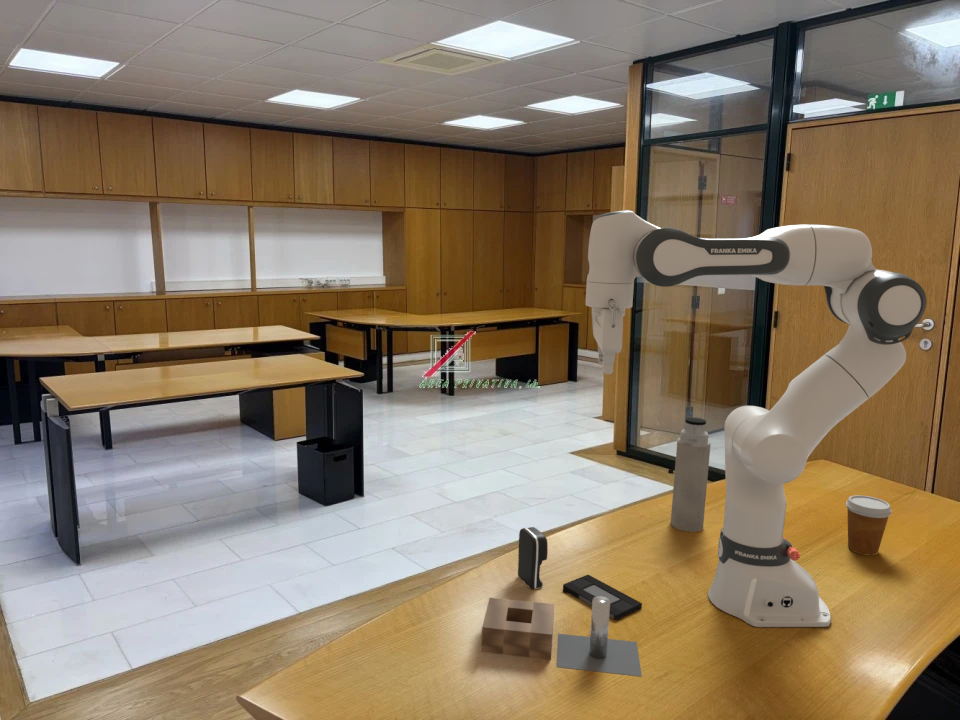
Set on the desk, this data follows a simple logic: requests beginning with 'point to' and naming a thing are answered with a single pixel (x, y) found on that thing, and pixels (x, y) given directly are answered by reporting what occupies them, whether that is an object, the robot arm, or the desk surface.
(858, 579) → the desk surface
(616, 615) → the vhs tape
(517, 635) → the hole block
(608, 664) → the mat
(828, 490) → the desk surface
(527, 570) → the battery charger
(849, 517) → the disposable coffee cup
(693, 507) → the thermos bottle
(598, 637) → the peg
